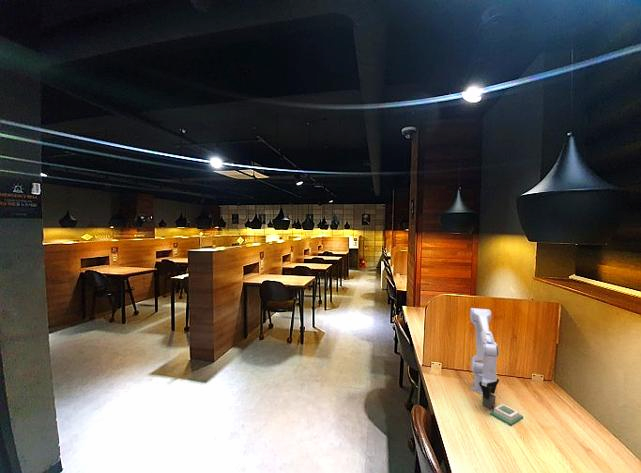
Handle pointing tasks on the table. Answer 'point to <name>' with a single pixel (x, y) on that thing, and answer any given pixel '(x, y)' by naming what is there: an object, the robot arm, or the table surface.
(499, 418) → the board
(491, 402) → the plug
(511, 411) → the frame
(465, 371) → the table surface
